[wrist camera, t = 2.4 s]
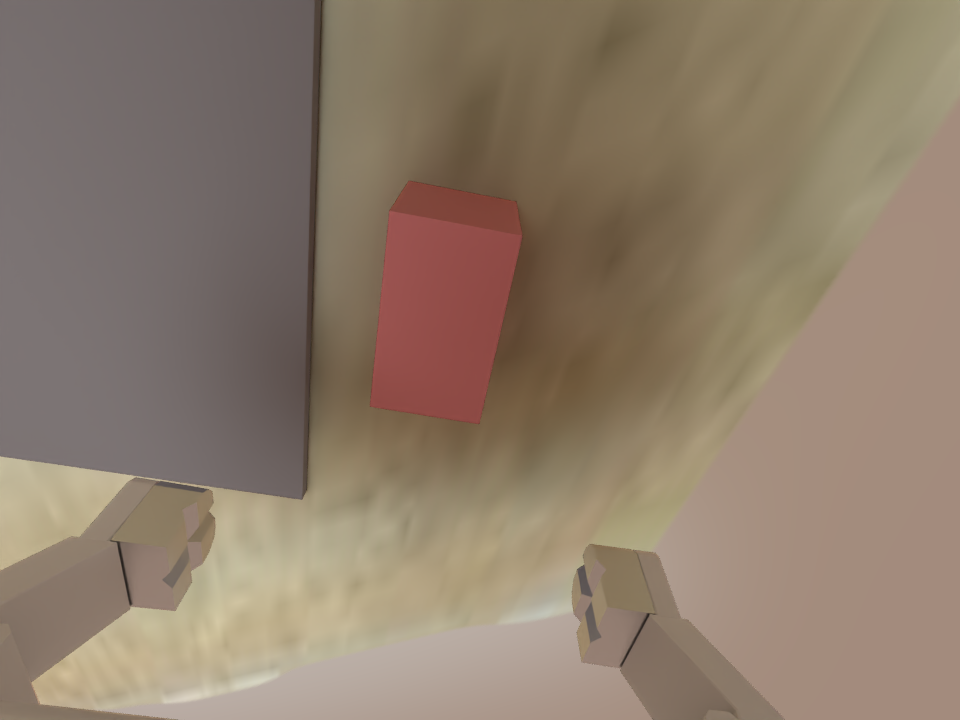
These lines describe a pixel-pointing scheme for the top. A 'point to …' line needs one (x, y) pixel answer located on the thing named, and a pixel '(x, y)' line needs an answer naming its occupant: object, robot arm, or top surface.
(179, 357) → the mat
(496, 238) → the red rectangular block
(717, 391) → the top surface
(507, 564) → the top surface
